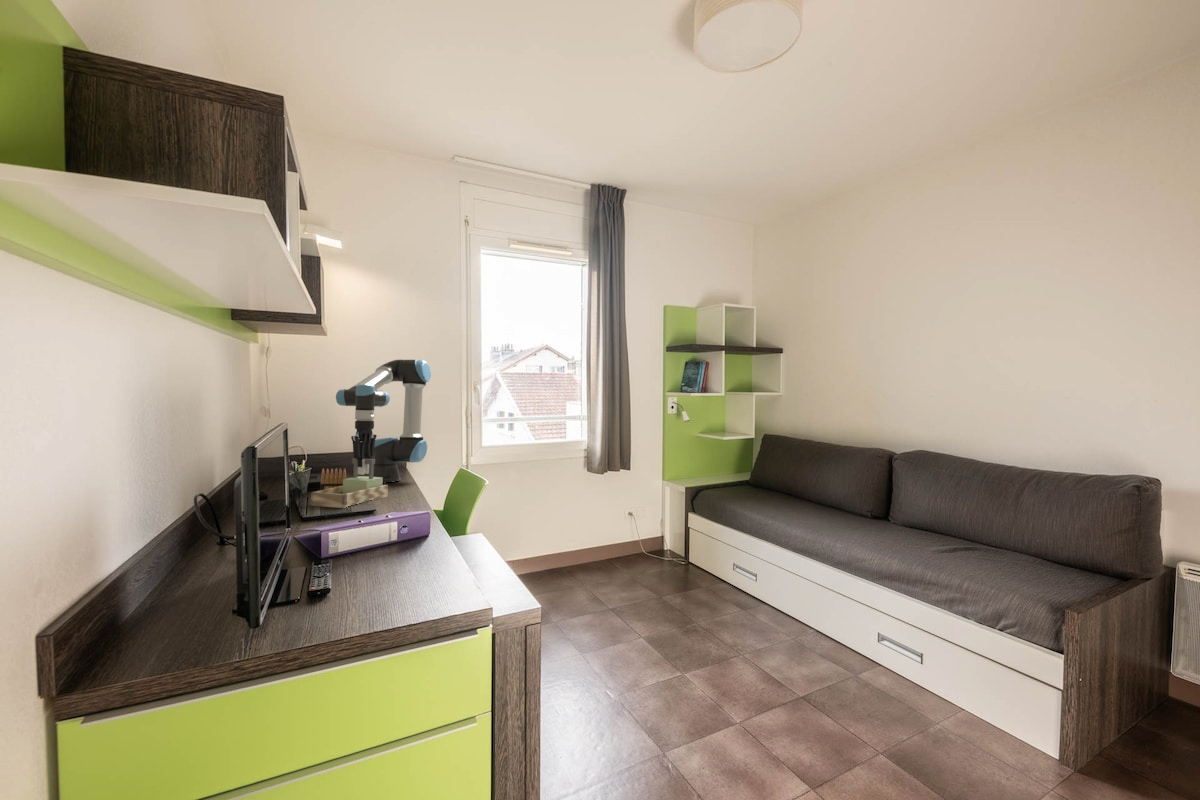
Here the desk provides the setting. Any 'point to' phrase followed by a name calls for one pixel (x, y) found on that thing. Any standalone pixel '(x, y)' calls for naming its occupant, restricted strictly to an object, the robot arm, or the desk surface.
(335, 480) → the ammunition clip
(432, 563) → the desk surface
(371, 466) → the green panel with handle
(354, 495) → the bay
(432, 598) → the desk surface
